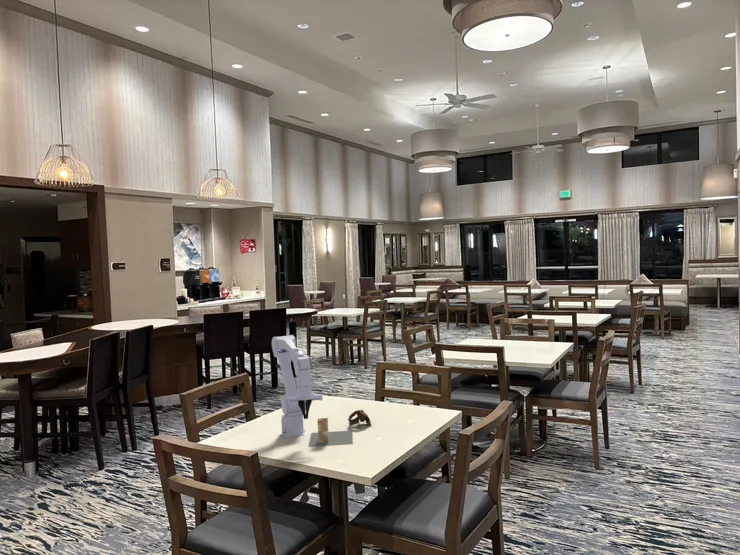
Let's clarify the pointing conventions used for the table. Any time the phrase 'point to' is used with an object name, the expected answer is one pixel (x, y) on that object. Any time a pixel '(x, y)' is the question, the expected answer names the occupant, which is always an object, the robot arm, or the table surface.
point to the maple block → (323, 430)
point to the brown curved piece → (359, 418)
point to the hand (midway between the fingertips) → (306, 418)
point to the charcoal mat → (333, 439)
